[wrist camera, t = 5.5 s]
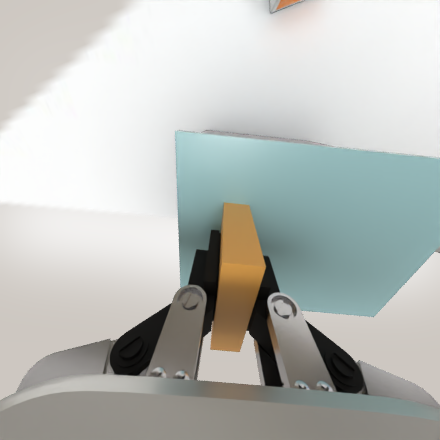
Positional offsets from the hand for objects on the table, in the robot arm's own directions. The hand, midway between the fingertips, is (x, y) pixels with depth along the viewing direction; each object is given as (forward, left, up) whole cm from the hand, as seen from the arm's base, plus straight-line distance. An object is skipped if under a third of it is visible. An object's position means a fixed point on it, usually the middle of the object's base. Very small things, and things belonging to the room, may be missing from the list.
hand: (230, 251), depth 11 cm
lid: (-5, -2, -2) cm, 5 cm away
